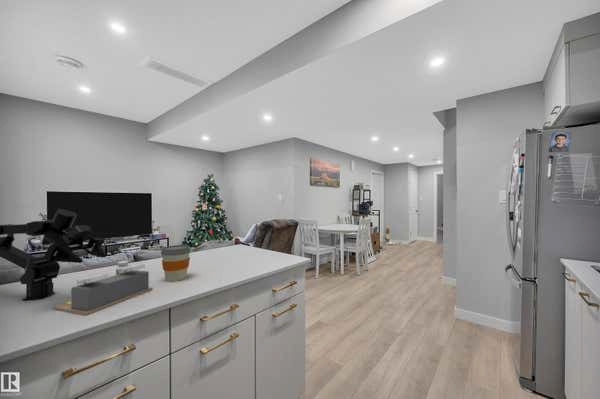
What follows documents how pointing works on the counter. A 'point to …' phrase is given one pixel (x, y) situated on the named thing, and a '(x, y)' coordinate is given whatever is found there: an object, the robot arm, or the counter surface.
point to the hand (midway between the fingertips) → (94, 258)
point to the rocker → (131, 268)
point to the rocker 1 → (92, 279)
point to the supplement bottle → (122, 266)
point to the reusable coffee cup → (175, 262)
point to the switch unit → (106, 292)
